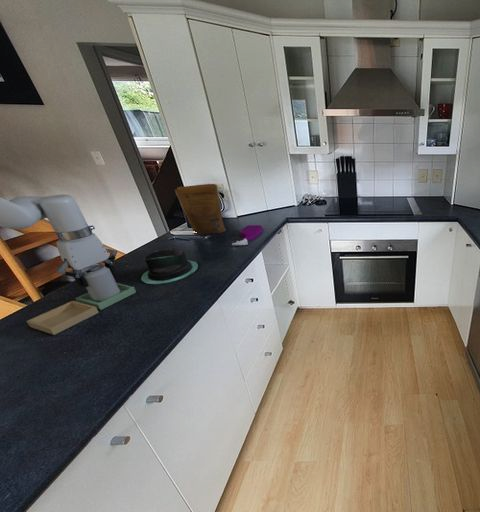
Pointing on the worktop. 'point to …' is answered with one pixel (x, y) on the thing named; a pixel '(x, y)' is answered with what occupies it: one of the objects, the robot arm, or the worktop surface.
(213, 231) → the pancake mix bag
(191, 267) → the black and teal hat
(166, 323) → the worktop surface
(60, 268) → the robot arm
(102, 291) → the can
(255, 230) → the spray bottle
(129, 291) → the far tray
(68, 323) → the near tray
